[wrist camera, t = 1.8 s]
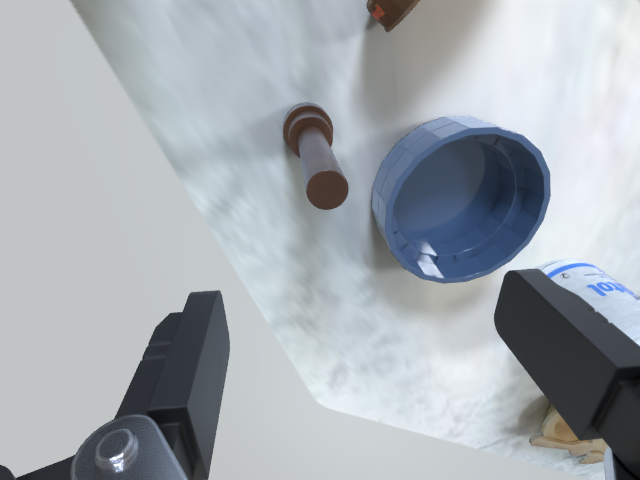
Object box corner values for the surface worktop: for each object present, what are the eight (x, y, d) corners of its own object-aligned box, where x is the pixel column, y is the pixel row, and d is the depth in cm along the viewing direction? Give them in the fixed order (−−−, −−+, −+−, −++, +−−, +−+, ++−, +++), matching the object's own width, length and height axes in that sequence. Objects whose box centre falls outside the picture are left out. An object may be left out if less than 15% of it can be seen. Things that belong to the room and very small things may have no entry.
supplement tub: (605, 255, 44) (740, 340, 31) (577, 315, 48) (685, 413, 35) (531, 256, 43) (639, 345, 30) (509, 318, 47) (595, 419, 35)
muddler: (284, 151, 34) (287, 230, 19) (281, 103, 32) (282, 149, 17) (330, 149, 35) (367, 226, 20) (330, 101, 33) (371, 146, 18)
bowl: (367, 257, 41) (380, 288, 36) (374, 118, 34) (392, 131, 28) (495, 248, 42) (526, 277, 37) (528, 112, 35) (573, 123, 30)
